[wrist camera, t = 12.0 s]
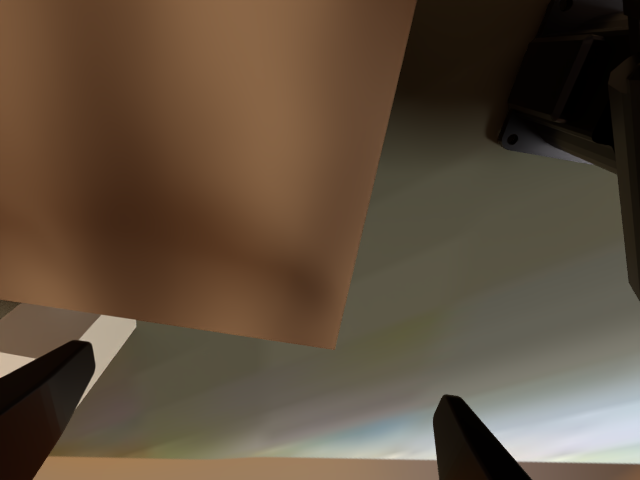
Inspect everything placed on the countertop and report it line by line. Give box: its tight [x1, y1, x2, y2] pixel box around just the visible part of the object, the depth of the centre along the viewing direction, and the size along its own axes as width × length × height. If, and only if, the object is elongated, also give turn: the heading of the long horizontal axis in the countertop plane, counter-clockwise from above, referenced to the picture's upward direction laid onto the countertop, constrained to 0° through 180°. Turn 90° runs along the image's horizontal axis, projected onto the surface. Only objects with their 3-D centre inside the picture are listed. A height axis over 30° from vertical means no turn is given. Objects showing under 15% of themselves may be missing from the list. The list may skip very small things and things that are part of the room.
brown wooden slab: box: [0, 0, 417, 350], centre depth 14 cm, size 14×12×8 cm
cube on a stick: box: [0, 303, 136, 408], centre depth 18 cm, size 4×16×7 cm, turn 168°
